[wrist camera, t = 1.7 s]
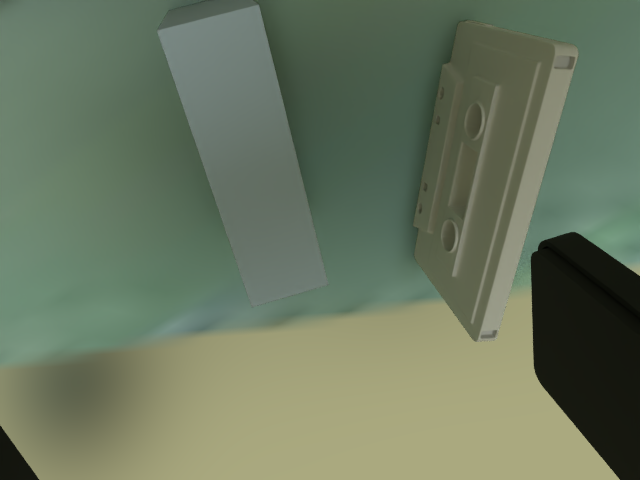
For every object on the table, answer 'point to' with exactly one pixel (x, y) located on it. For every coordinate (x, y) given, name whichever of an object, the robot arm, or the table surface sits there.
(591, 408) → the robot arm
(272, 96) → the grey block
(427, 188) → the cassette
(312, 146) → the table surface
